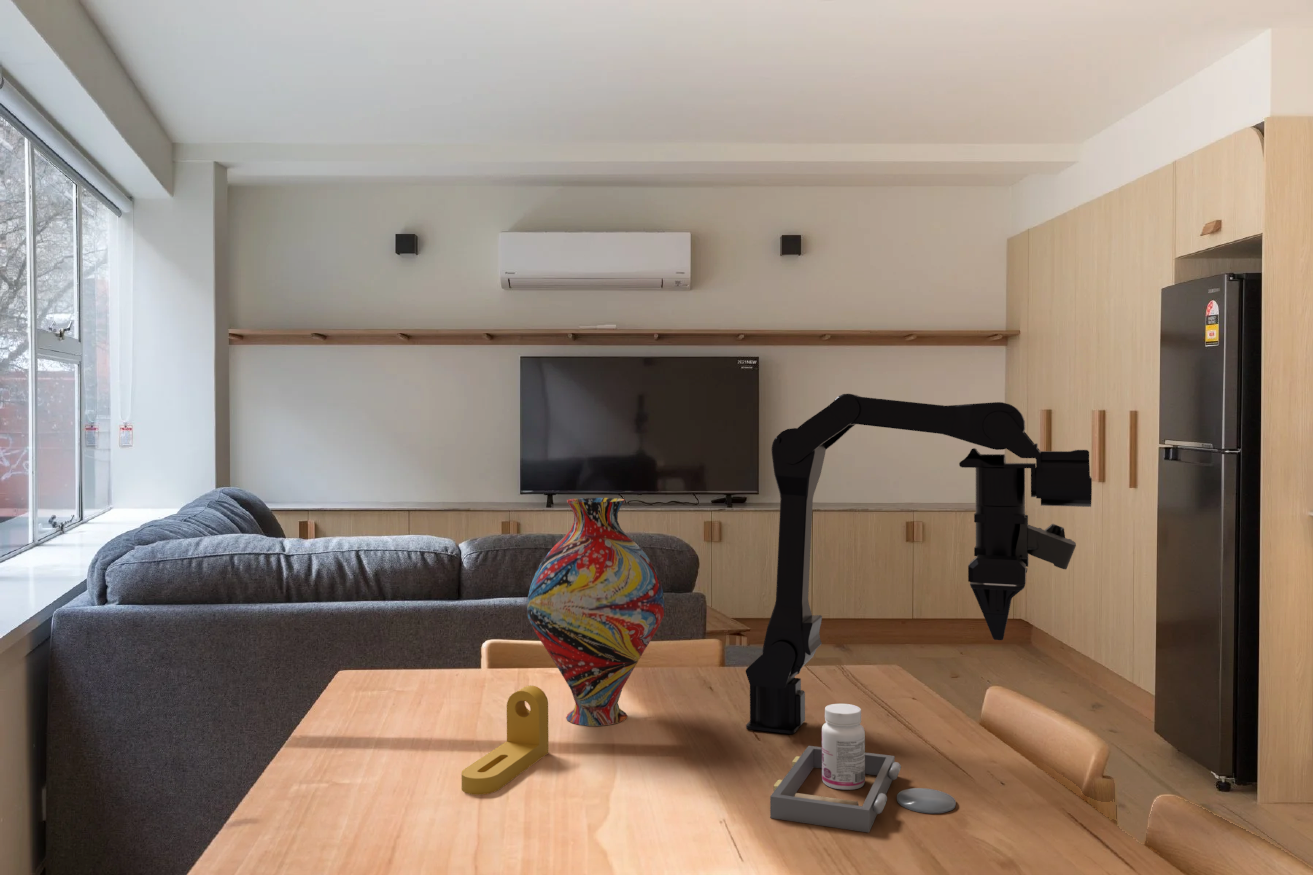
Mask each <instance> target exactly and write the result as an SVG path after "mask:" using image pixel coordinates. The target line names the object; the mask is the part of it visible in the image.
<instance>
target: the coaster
mask: <svg viewBox="0 0 1313 875" xmlns="http://www.w3.org/2000/svg"><path fill="white" fill-rule="evenodd" d="M896 801H897V804H898V805H900V806H901V807H903V808H905V809H906V810H910V811H912V812H917V813H923V814H943V813H948V812H951V811H953V810H954V809H955V808H956V806H957V805H956V799H955V797H954V796H952V795H951V794H949V793H947V792H944V791H942V790H941V791H940V790H938V789H932V788H925V787H913V788H907V789H903V790H901V791H899V792H898V793H897V794H896Z"/></svg>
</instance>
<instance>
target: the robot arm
mask: <svg viewBox="0 0 1313 875" xmlns="http://www.w3.org/2000/svg"><path fill="white" fill-rule="evenodd" d="M855 425H860V426H871V427H877V428H888V429H896V430H904V431H905V430H906V431H914V432H923V433H931V434H940V435H944V436H948V437H951V438H954V439H957V440H961V441H963V442H967V443H970V444H974V445H978V446H980V447H984V448H986V449H987V448H988V449H991V450H997V451H998V450H999V451H1000V450H1002V451H1003V450H1008V451H1009V452H1011V453H1013V455H1015V456H1017V457H1018V458H1020V459H1035V461H1036V462H1006V459H1007V458H1006V454H1000V453H999V454H998V453H997V454H996V453H995V454H994V453H992V454H990V453H989V454H988V453H987V454H984V453H980V452H979V451H978V449H977V448H976V447H974V448H971V449H970V452H969V453H968V454H967V455H966V457H965V458H963V459H961V461H959V463H958V465H959V467H960V468H965V469H966V468H967V469H968V468H969V469H970V468H971V469H972V468H974V469H975V513H974V515H973V520H974V521H973V522H974V523H975V546H974V549H973V550H974V553H973V555H974V557H975V558H973V559H972V560H971V561H970V562H969V564H968V565H967V568H968V569H967V571H968V572H967V577H968V578H967V581H968V583H969V586H970V588H971V589H972V592H973V594H974V596H975V599H976V601H977V603H978V607H979V608H980V611H981V613H982V615H983V617H984V620H985V622H986V625H987V627H988V630H989V632H990V634H991V636H992V639H993V640H995V641H1003V640H1004V636H1005V632H1006V628H1007V623H1008V620H1009V615H1010V609H1011V604H1012V599H1013V598H1014V597H1015V596H1016V595H1017V594H1018V593H1019V592H1021V591H1023V590H1024V589H1025V587H1026V581H1027V578H1026V577H1027V572H1028V567H1029V561H1030V560H1029V558H1030V557H1029V556H1032V557H1034V558H1037V559H1039V560H1043V561H1046V562H1048V563H1050V564H1053V566H1054V567H1056V568H1059V569H1061V570H1067V568H1068V566H1069V564H1070V562H1071V559H1072V556H1073V555H1074V551H1075V550H1076V547H1077V543H1076V541H1074V540H1072V539H1071V538H1066V533H1065V528H1064V527H1063V526H1061V525H1058V524H1055V523H1051V524H1050V525H1048V527H1046V528H1045V529H1043V528H1041V527H1036V526H1034V525H1031V524H1029V514H1026V469H1030V498H1036V499H1040V506H1043V507H1074V508H1075V507H1077V508H1078V507H1081V508H1087V507H1088V508H1089V507H1090V508H1091V507H1092V494H1093V492H1092V489H1093V488H1092V487H1093V486H1092V484H1093V483H1092V482H1093V479H1092V476H1091V475H1090V474H1091V472H1090V470H1091V468H1090V451H1089V450H1088V449H1074V450H1067V451H1066V450H1065V451H1064V450H1063V451H1062V450H1061V451H1058V450H1054V451H1053V450H1050V451H1049V450H1048V451H1047V450H1040V448H1039V447H1038V443H1034V441H1033V440H1032V439H1031V438H1030V436H1029V435H1028V434H1027V432H1025V431H1026V420H1025V418H1024V415H1023V414H1022V413H1021V411H1020V410H1019V409H1018V408H1017V407H1015V406H1013V405H1012V404H1010V403H1008V402H1007V403H1006V402H1001V401H999V402H998V401H997V402H996V401H995V402H982V403H981V402H979V403H965V404H952V405H943V404H933V403H924V402H923V403H922V402H915V401H913V402H912V401H905V400H903V401H902V400H896V399H895V400H893V399H885V398H876V397H875V398H874V397H867V396H860V395H858V394H853V393H842V394H840V395H838V396H837V397H835V399H834V400H833V401H832V402H831V403H830V404H828V405H827V406H826V407H825V408H824V409H822V410H820V411H819V412H817V413H816V414H814V415H813V416H811V417H810V418H808V419H806V420H805V422H803V423H802V424H801V425H799V426H798V427H793V428H792V427H791V428H787V429H784V430H783V431H781V432H780V433H778V435H777V436H776V437H775V438H774V439H773V441H772V445H771V457H772V467H773V475H774V477H775V481H776V485H777V489H778V491H779V498H780V502H779V522H778V523H779V525H778V526H779V527H778V544H777V549H778V550H777V567H776V568H777V571H776V590H775V591H776V592H775V593H776V594H775V604H774V605H773V606H774V607H773V609H772V613H771V616H770V619H769V620H768V624H767V628H766V632H765V637H764V641H763V645H762V654H761V655H760V656H758V658H757V659H756V660H754V661H753V663H751V664H750V665H749V666H747V668H746V669H745V674H746V677H747V680H748V684H749V721H748V722H747V723H746V724H745V728H746V729H747V730H752V731H753V730H754V731H763V732H769V733H772V732H773V733H779V734H787V735H789V734H790V735H793V734H796V732H797V731H798V730H799V729H800V727H801V726H802V725H803V723H804V722H805V721H806V691H805V690H803V689H802V678H800V677H796V676H797V675H799V674H800V673H801V670H802V668H803V667H804V666H805V665H806V664H807V663H809V661H811V659H812V658H813V657H815V656H814V655H815V654H816V651H817V649H818V648H819V647H820V646H822V644H823V643H822V639H821V637H820V629H821V625H822V619H823V615H821V614H819V615H818V614H815V615H813V613H812V610H811V606H810V602H809V590H810V589H809V587H810V567H811V564H810V563H811V549H812V548H811V543H812V527H813V526H812V523H813V502H814V501H813V500H814V495H815V492H816V489H817V486H818V482H819V481H820V477H821V474H822V469H823V465H824V460H825V457H826V451H827V450H828V449H829V448H830V447H831V446H833V445H834V444H835V443H837V442H838V441H839V440H840V439H841V438H842V437H843V436H845V435H846V433H848V432H849V431H850V430H851V429H852V428H853V427H855Z"/></svg>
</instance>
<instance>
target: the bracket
mask: <svg viewBox="0 0 1313 875" xmlns="http://www.w3.org/2000/svg"><path fill="white" fill-rule="evenodd" d="M526 703H527V704H528V705H529V708H530V709H528V708H527V707H526ZM548 754H549V700H548V697H547V696H546V693H545V692H544V691H543V689H541V688H540V687H538V686H536V685H526V686H524V687H523V688H521V689H519V690H517V691H515V692H513V693H511V695H510V696H509V698H508V700H507V702H506V741H504V743H501V744H500V745H499V746H497V747H496V748H494V749H493V750H491V751H490V752H488V753H487V754H485V755H484V756H482V757H480V758H479V759H477V760H476V761H474V762H473V763H471V764H470V765H468V766H467V767H465V768H464V769H463V770H462V771H461V774H460V775H461V778H460V779H461V791H462V792H463V793H465V794H468V795H475V796H476V795H477V796H478V795H479V796H481V795H488V794H493V793H495V792H498V791H499V790H501V789H502V788H503V787H505V786H506V785H508V784H509V783H510V782H511V781H513V780H514V779H516V778H517V777H518V776H519V775H520V774H522V773H523V772H525V771H526V770H528V769H529V768H530V767H532V766H533V765H534V764H536V762H539V760H541V759H542V758H544V756H546V755H548Z"/></svg>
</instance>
